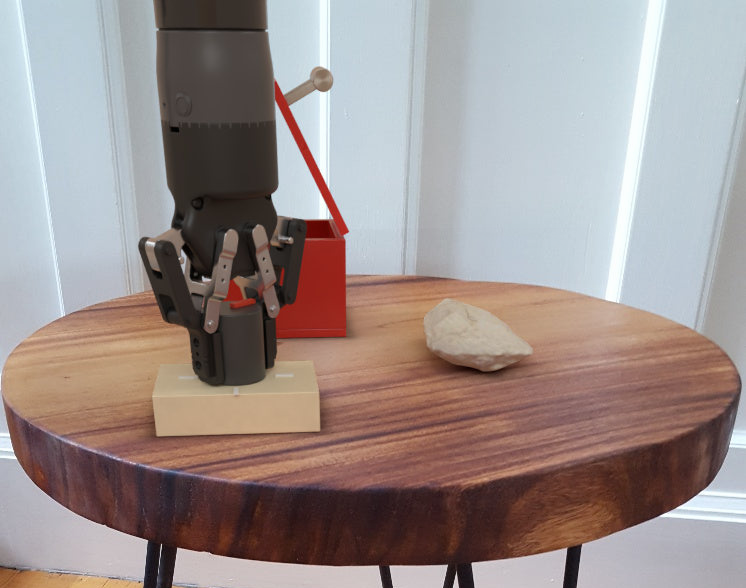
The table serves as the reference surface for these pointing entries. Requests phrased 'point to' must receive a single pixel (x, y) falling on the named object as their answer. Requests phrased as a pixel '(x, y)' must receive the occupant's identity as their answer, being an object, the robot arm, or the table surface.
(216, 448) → the table surface
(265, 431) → the panel
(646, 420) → the table surface
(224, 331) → the valve knob
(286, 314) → the red open box
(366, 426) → the table surface
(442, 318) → the stone
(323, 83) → the box lid
